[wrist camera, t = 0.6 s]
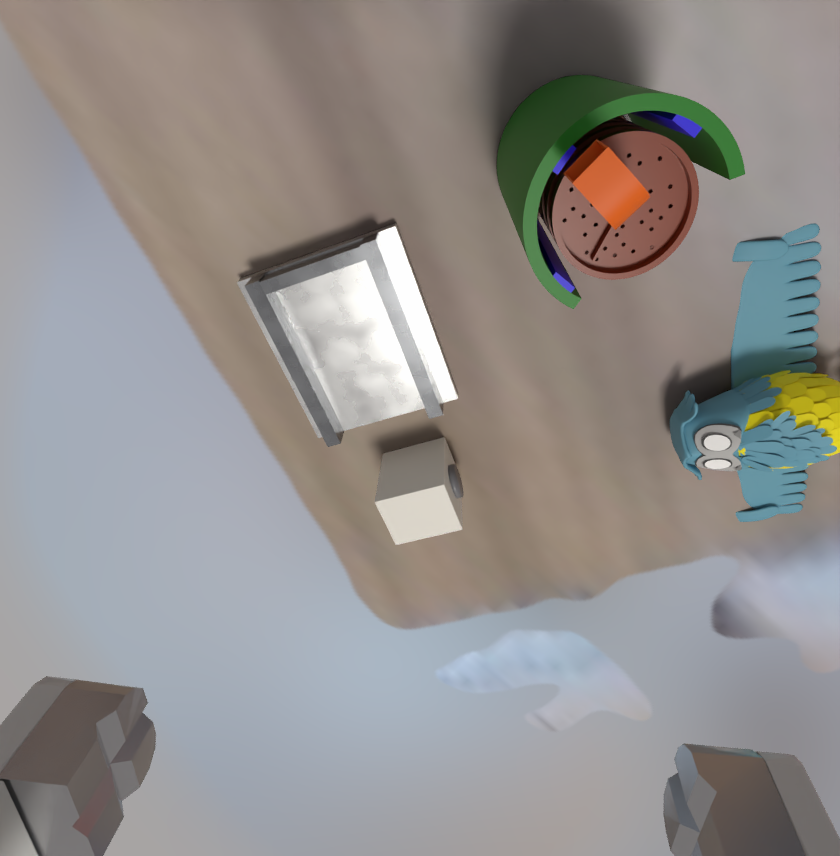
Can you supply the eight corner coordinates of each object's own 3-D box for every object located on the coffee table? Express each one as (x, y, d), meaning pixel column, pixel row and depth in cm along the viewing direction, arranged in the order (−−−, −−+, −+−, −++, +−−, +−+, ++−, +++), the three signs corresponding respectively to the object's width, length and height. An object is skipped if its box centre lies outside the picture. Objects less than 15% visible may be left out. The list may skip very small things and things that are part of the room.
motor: (567, 252, 45) (638, 377, 28) (468, 184, 42) (480, 275, 26) (665, 123, 40) (823, 179, 23) (559, 39, 38) (648, 33, 21)
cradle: (240, 278, 47) (228, 291, 44) (396, 222, 44) (393, 233, 41) (320, 431, 54) (314, 450, 52) (457, 392, 51) (458, 410, 49)
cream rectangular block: (382, 453, 55) (374, 502, 49) (449, 435, 54) (449, 483, 48) (401, 494, 58) (396, 544, 52) (465, 477, 56) (467, 528, 50)
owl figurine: (893, 570, 49) (700, 596, 52) (838, 502, 57) (671, 528, 60) (952, 237, 35) (682, 300, 38) (868, 204, 42) (647, 259, 46)
